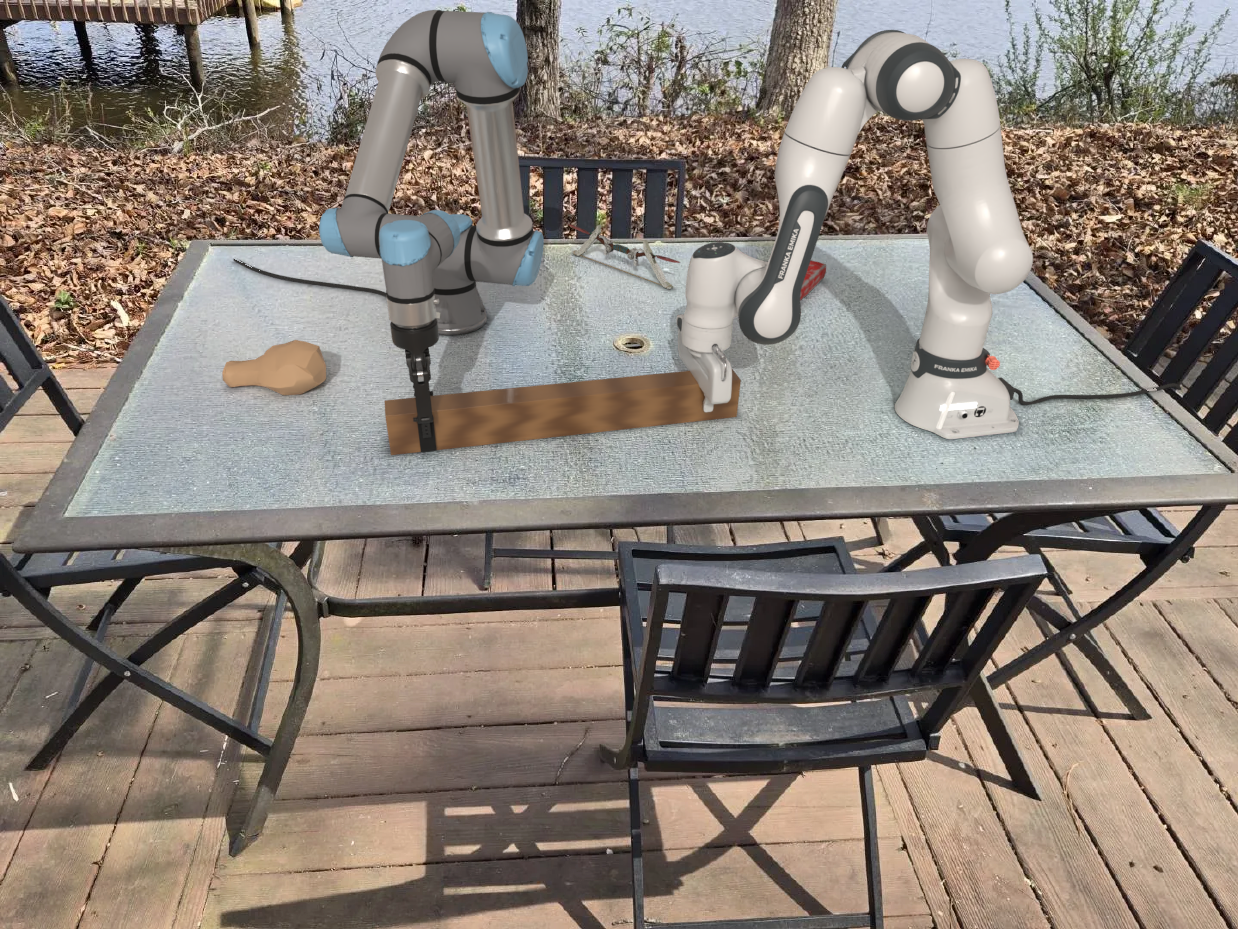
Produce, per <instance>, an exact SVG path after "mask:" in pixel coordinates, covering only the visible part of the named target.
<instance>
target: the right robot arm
mask: <svg viewBox="0 0 1238 929" xmlns="http://www.w3.org/2000/svg"><path fill="white" fill-rule="evenodd" d="M878 112H883V113H885V114H886V115H887V116H889V117H890V118H893V119H895V120H899V121H905V122H912V121H913V122H914V121H920V120H921V121H922V123H923V125H924V126H923V127H924V136H925V143H926V144H925V145H926V151H927V157H928V162H929V168H930V169H929V170H930V177H931V183H932V189H933V193H934V194H935V197H936V198H937V201H938V203H939V205H937V206H936V208H934V210H933V211H932V212H931V214H930V216H929V218H928V220H927V224H926V235H927V240H928V246H929V262H928V263H929V264H928V294H927V302H926V309H925V313H924V318H923V321H922V327H921V331H920V335H919V338H918V339H917V340H916V342H915V345H914V350H913V353H912V356H911V362H910V371H909V375H908V377H907V380H906V382H905V384H904V387H903V389H902V391H901V393H900V395H899V397H898V398H897V400H896V402H895V403H894V411H895V413H896V415H898V417H900V419H902V420H903V421H905V422H906V423H908V424H909V425H911V426H913V427H916V428H919V429H921V430H924V431H929V432H931V433H934V434H936V435H937V436H939V437H941V438H943V439H946V440H956V439H957V440H958V439H967V438H974V437H982V436H983V437H984V436H992V435H1001V434H1002V435H1003V434H1009V433H1016V432H1018V430H1019V425H1020V421H1019V419H1018V415H1017V413H1016V412H1015V411H1014V409H1013V408H1012V407H1011V401H1013V400H1014V396H1015V394H1016V395H1017V396H1018V403H1019V404H1020V405H1022V406H1030V405H1031V406H1032V405H1036V404H1041V403H1043V402H1046V401H1050V400H1063V399H1064V400H1101V399H1103V400H1104V399H1120V398H1129V397H1134V396H1139V395H1144V394H1149V393H1150V392H1149V391H1147V390H1146V388H1145V389H1140V390H1137V391H1131V392H1124V393H1123V392H1121V393H1110V394H1109V393H1108V394H1051V395H1046V396H1043V397H1041V398H1038V399H1035V400H1031V401H1026V400H1024V395H1023V392H1022V391H1021V390H1020V389H1019V388H1016V387H1014V386H1013V385H1012V384H1010V382H1008V381H1007V380H1006V379H1005V378H1003V377H998V376H996V375H995V374H994V373H993V372H992V371H995V370H998V369H999V368H1000V366H1001V361H999V359H998V358H997V357H996V356H994V355H991V353H990V352H989V351H988V350H987V349H986V348H985V347H984V346H985V342H986V338H987V335H988V332H989V328H990V324H991V321H992V318H993V303H992V301H991V295H1002V294H1007V293H1008V292H1011V291H1014V290H1015V289H1016V288H1017V287H1019V286H1021V284H1022V283H1023V282H1024V281H1025V280H1026V279H1027V277H1028V276H1029V274H1030V272H1031V270H1032V267H1033V263H1034V255H1033V252H1032V249H1031V247H1030V245H1029V243H1028V241H1027V239H1026V236H1025V234H1024V231H1023V228H1022V224H1021V221H1020V216H1019V213H1018V210H1017V206H1016V202H1015V199H1014V196H1013V193H1012V190H1011V186H1010V184H1009V179H1008V175H1007V171H1006V163H1005V156H1004V155H1005V154H1004V146H1003V137H1002V127H1001V126H1002V125H1001V119H1000V111H999V106H998V100H997V96H996V91H995V88H994V85H993V82H992V79H991V76H990V73H989V70H988V68H987V67H986V65H984V63H982V62H981V61H979V60H976V59H972V58H957V59H953V60H949V58H948V57H947V56H946V55H945V54H944V53H943V51H941V50H940V49H939V48H938V47H937V46H935V45H933V44H931V43H930V42H928V41H927V40H925V39H923V38H922V37H921V36H919V35H915V34H911V33H906V32H904V31H902V30H899V29H885V30H881V31H878V32H875V33H873V34H871V35H870V36H868V37H867V38H866V39H865V40H864V41H863V42H861V44H859V46H858V47H857V49H856V50H855V51H854V52H853V53H852V54H851V55H850V56H849V57H848V58H847V59H846V60H844V62H843V63H842V65H841V67H839V66H831V67H829V66H827V67H824V68H821V69H818V70H817V71H816V72H814V73H813V74H812V75H811V76H810V77H809V80H808V82H807V83H806V85H805V87H804V88H803V90H802V92H801V94H800V96H799V98H798V99H797V102H796V104H795V105H794V108H793V109H792V112H791V114H790V117H789V119H788V121H787V125H786V127H785V130H784V133H783V135H782V137H781V142H780V145H779V146H778V150H777V151H778V152H777V157H776V162H775V168H774V181H775V182H774V183H775V187H776V193H777V198H778V208H779V222H778V229H777V234H776V237H775V240H774V243H773V246H772V249H771V252H770V255H769V258H768V260H761V259H757V258H755V257H752V256H750V255H748V254H746V253H744V252H742V251H741V250H739V249H738V248H737V247H736V246H735V244H732V243H730V242H723V241H716V242H715V241H713V242H709V243H706V244H703V245H702V246H700V247H698V248H696V249H695V251H694V252H692V255H691V257H690V258H689V259H690V260H689V263H688V267H687V274H686V281H685V290H684V291H685V292H684V293H685V294H684V295H685V300H686V306H685V310H684V312H683V314H678V315H676V318H675V319H676V320H675V321H676V322H675V324H676V327H677V329H678V330H677V352H678V356H679V359H680V360H681V361H682V363H683V365H684V366H685V368H686V369H687V371H690V372H691V373H692V375H693V376H694V378H695V379H696V381H697V382H698V384H699V387H700V388H701V390H702V391H703V393H704V396H705V399H704V400H702V409H703V410H704V412H711V411H713V406H714V404H722V403H728V402H729V400H730V399H731V390H732V369H733V368H732V364H731V362H730V360H729V359H728V358H727V356H726V354H725V353H724V351H726V350H728V349H729V348H730V347H731V345H732V337H733V328H734V319H735V318H738V326H739V329H740V331H741V333H742V335H743V336H744V337H745V338H746V339H748V340H749V341H750V342H753V343H755V344H757V345H764V346H770V345H776V344H780V343H781V342H784V341H786V340H787V339H789V338H790V337H791V336H792V335H794V333H795V332H796V330H797V329H798V327H799V325H800V322H801V318H802V308H801V306H802V305H801V300H800V294H801V288H802V285H803V282H804V279H805V276H806V273H807V270H808V267H809V264H810V261H811V260H812V258H813V255H814V252H815V249H816V246H817V243H818V240H819V236H820V234H821V231H822V227H823V224H824V221H825V218H826V216H827V214H828V212H829V208H830V206H831V203H832V200H833V198H834V195H835V194H836V191H837V189H838V186H839V184H840V182H841V179H842V176H843V175H844V172H845V169H846V167H847V165H848V162H849V160H850V158H851V154H852V152H853V149H854V148H855V144H856V141H857V139H858V135H859V133H860V132H861V131H862V129H863V127H864V126H865V125H866V123H867V122H868V121H869V120H870V119H871V118H872V117H873V116H874V115H876V114H877V113H878ZM1152 388H1153V389H1154V388H1156V389H1157V391H1156V392H1159V391H1162V390H1163V391H1164V390H1166V389H1170V388H1175V389H1176V390H1177V391H1182V387H1181V386H1180V384H1178V383H1175V382H1172V383H1167V384H1163V385H1160V386H1155V387H1152Z"/></svg>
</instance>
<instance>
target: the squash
mask: <svg viewBox="0 0 1238 929" xmlns="http://www.w3.org/2000/svg"><path fill="white" fill-rule="evenodd" d="M325 361H326V360H325V358H324V356H323V352H322V350H321V347H320V346H319V345H317V344H314V343H311V342H308V341H305V340H299V339H293V340H291V341H288V342H285V343H280V344H275V345H271V347H269V348H268V349H267V350H266V351H265V352H264V354H262V355H260V356H258V357H257V358H254V359H245V360H228V361H226V362H225V364H224V367H223V369H222V373H221V375H222V381H223V383H225V384H226V385H227V387H229V388H236V387H247V386H258V387H264V388H265V389H266V388H267V389H269V390H270V391H272V392H275V393H277V394H280V395H282V396H292V395H293V396H296V395H303V394H304V393H307V392H308V391H311V390H312V389H314V388H316V387H318V386H320V385H321V384H322V383H323V382H325V381H326V380H327V365H326V362H325Z"/></svg>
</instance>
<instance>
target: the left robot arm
mask: <svg viewBox="0 0 1238 929" xmlns="http://www.w3.org/2000/svg"><path fill="white" fill-rule="evenodd" d="M528 56H529V55H528V48H527V43H526V39H525V36H524V32H523V30H522V28H521V26H520V24H519V23H518V22H517V20H516V19H515V18H513V17H512V16H511V15H509V14H500V13H495V12H492V11H486V12H481V11H480V12H479V11H458V10H441V9H429V10H425V11H421V12H419V13H416V14H415V15H413V16H411V17H410V18H409V19H407V20H406V21H404V22H403V23H402V24H400V26H399V27H398V28H397V29H396V30H395V31H394V33H392V35H391V36H390V37H389V39H388V41H387V42H386V43H385V45H384V47H383V49H382V50H381V53H380V54H379V57H378V60H377V63H376V67H375V78H376V80H377V85H376V89H375V91H374V96H373V99H372V104H371V106H370V108H369V109H370V110H369V113H368V117H367V120H366V123H365V127H364V130H363V133H362V137H361V140H360V143H359V147H358V150H357V154H356V157H355V160H354V164H353V168H352V171H351V174H350V178H349V180H348V184H347V188H346V191H345V195H344V198H343V201H342V203H341V207H334V208H333V207H330V208H326V210H325V211H324V212H323V213H322V214H321V217H320V221H319V224H318V225H319V227H318V232H319V239H320V242H321V244H322V246H323V248H325V250H326V251H327V252H329V253H331V254H334V255H339V256H344V257H349V258H354V257H355V258H356V257H357V258H370V259H381V264H382V271H383V277H384V285H385V291H382V290H381V289H380V290H379V289H377V288H371V287H363V286H355V285H349V284H343V283H342V284H341V283H333V282H332V283H331V282H325V281H318V280H311V279H304V278H297V277H292V276H286V275H281V274H277V273H274V272H269V271H267V270H263V269H261V268H257V267H256V266H253V265H250V266H251V267H252V266H253V267H252V268H251V267H249V266H247V265H245V264H247V263H246V262H244V261H242V260H240V261H241V262H243V263H241V262H239V261H237V260H235V259H234V258H233V259H232V260H233V262H235V263H237V264H238V265H240V266H242V267H244V268H246V269H248V270H251V271H253V272H255V273H258V274H261V275H263V276H266V277H271V278H274V279H279V280H282V281H289V282H294V283H299V284H306V285H307V284H308V285H312V286H313V285H315V286H321V287H328V288H335V289H336V288H337V289H343V290H344V289H345V290H352V291H358V292H359V291H360V292H366V293H372V294H376V295H380V296H383V297H385V299H386V306H387V307H386V308H387V313H388V320H389V321H390V324H389V327H390V334H391V341H392V343H393V345H394V346H395V347H396V348H399V349H401V350H404V356H405V360H406V361H405V362H406V367H407V368H408V374H409V381H410V382H411V383H412V384H413V385H412V389H413V391H414V393H413V397H414V398H415V400H416V408H417V416H418V417H415V418H413V422H417V424H418V433H419V441H420V449H421V452H420V453H426V452H435V451H438V450H437V449H436V440H435V430H434V421H433V420H434V417H433V415H432V407H431V398H430V396H434V390H430V381H431V380H432V376H431V364H432V362H431V361H432V360H431V354H430V348H432V347H433V346H435V345H436V344H437V343H438V341H439V339H440V336H459V335H465V334H469V333H473V332H476V331H477V330H480V329H481V328H483V327H484V326H485V325H486V323H487V320H488V316H487V310H486V306H485V304H484V302H483V299H482V298H481V295H480V293H479V291H478V288H477V283H478V282H479V283H488V284H495V285H496V284H497V285H507V286H512V287H517V286H519V287H529V286H532V285H533V284H534V283H535V281H536V280H537V278H538V275H539V272H540V269H541V265H542V260H543V254H544V244H545V239H544V235H543V233H542V232H541V231H539V230H537V229H536V230H534V225H533V219H532V218H531V217H530V216H529V215H528V214H527V213H525V209H524V208H525V207H524V199H523V190H522V181H521V180H522V179H521V171H520V170H521V169H520V162H519V160H520V159H519V153H518V151H519V150H518V140H517V132H516V123H515V122H516V121H515V113H514V104H513V102H514V101H515V99H516V98H517V97H518V96H519V95H520V88H521V87H523V86H524V85H525V84H526V81H527V78H528V73H529V70H528V69H529V66H528V63H529V58H528ZM438 82H440V83H449V84H454V87H455V94H456V98H457V99H458V100H459V101H460V102H461V103H463V104H464V105H465V107H466V113H467V119H468V120H467V121H468V127H469V128H468V129H469V134H470V141H471V142H470V143H471V148H472V155H473V162H474V169H475V176H476V183H477V190H478V196H479V205H480V211H481V218H480V219H478V220H477V222H476V225H473V224H474V221H473V220H472V218H471V216H469V215H466V214H461V213H452V214H450V213H448V212H446V211H444V210H440V209H433V210H429V211H427V212H424V213H423V214H421V215H411V214H400V213H390V209H391V206H392V201H393V198H394V194H395V191H396V188H397V184H398V180H399V176H400V173H401V170H402V166H403V163H404V158H405V156H406V153H407V149H408V146H409V141H410V138H411V136H412V131H413V128H414V125H415V121H416V118H417V113H418V110H419V106H420V104H421V100H422V99H425V98H426V97H427V96H428V95H429V92H430V90H431V86H432V85H433V84H434V83H438ZM259 270H260V271H259Z"/></svg>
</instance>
